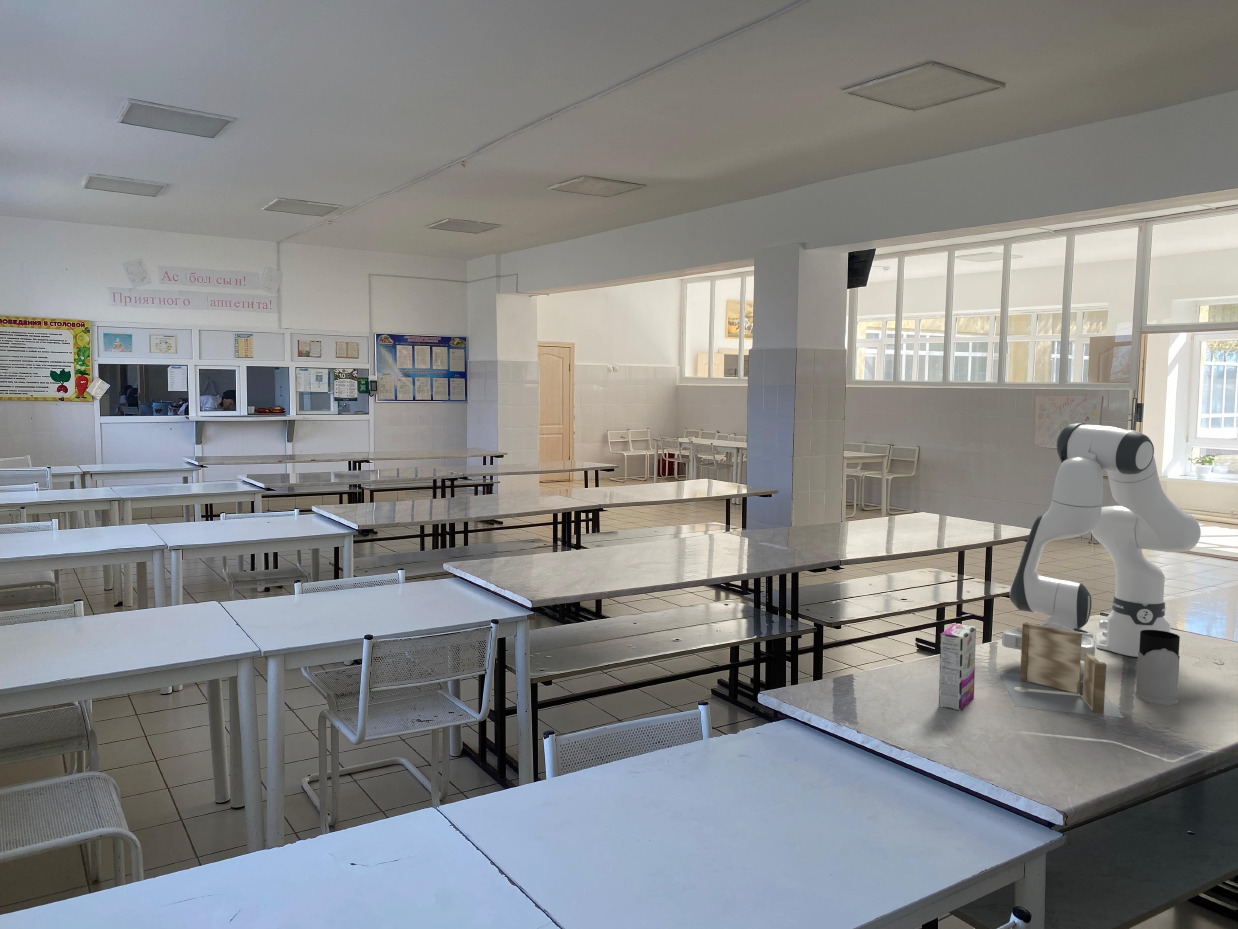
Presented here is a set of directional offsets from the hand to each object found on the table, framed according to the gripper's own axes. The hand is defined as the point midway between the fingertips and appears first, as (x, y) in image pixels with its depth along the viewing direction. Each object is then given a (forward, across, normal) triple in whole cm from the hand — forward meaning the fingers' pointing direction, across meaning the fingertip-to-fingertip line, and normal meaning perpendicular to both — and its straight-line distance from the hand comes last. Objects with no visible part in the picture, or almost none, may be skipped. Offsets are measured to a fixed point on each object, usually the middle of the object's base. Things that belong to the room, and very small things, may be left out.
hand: (1041, 651), depth 198 cm
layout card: (+5, +5, +8) cm, 11 cm away
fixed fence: (+8, +12, +8) cm, 16 cm away
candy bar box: (+25, -12, +8) cm, 29 cm away
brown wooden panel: (+1, +2, +7) cm, 8 cm away
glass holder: (-9, +22, +8) cm, 25 cm away
